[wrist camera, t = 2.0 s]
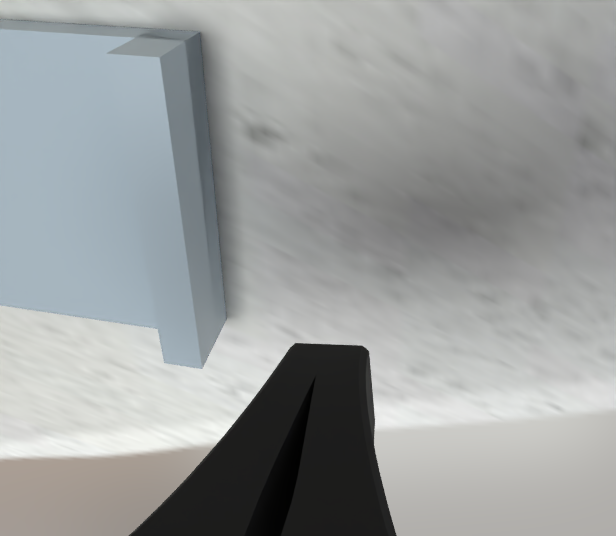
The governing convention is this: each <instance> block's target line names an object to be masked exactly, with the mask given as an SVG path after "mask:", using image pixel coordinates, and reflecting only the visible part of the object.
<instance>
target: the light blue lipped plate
mask: <svg viewBox="0 0 616 536" xmlns="http://www.w3.org/2000/svg"><path fill="white" fill-rule="evenodd" d="M0 305H2V306H8V307H15V308H22V309H29V310H35V311H42V312H49V313H55V314H62V315H69V316H75V317H82V318H89V319H95V320H102V321H109V322H115V323H122V324H129V325H135V326H142V327H149V328H155V329H158V332H159V338H160V343H161V348H162V353H163V359H164V363H168V364H174V365H180V366H187V367H193V368H199V369H202V368H203V366H204V364H205V362H206V360H207V358H208V356H209V354H210V352H211V350H212V348H213V346H214V344H215V342H216V340H217V338H218V335H219V333H220V331H221V329H222V327H223V325H224V323H225V321H226V319H227V318H226V307H225V296H224V285H223V275H222V264H221V253H220V242H219V232H218V221H217V210H216V199H215V189H214V178H213V167H212V156H211V146H210V135H209V124H208V113H207V103H206V92H205V81H204V70H203V60H202V49H201V38H200V32H198V31H182V30H166V29H150V28H134V27H118V26H102V25H86V24H70V23H54V22H38V21H22V20H6V19H0Z"/></svg>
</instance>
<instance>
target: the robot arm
mask: <svg viewBox="0 0 616 536" xmlns="http://www.w3.org/2000/svg"><path fill="white" fill-rule="evenodd" d="M374 428H375V417H374V405H373V393H372V381H371V370H370V358H369V351H368V350H367V349H366V348H364V347H363V346H356V345H330V344H303V343H295V344H294V345H293V346H292V347H291V348H290V349H289V350H288V352H287V353H286V355H285V356H284V358H283V359H282V360H281V362H280V363H279V365H278V366H277V368H276V369H275V370H274V372H273V373H272V375H271V376H270V377H269V379H268V380H267V381H266V383H265V384H264V385H263V387H262V388H261V390H260V391H259V392H258V394H257V395H256V396H255V398H254V399H253V400H252V401H251V403H250V404H249V405H248V407H247V408H246V409H245V410H244V412H243V413H242V414H241V415H240V417H239V418H238V419H237V420H236V422H235V423H234V424H233V425H232V427H231V428H230V429H229V430H228V432H227V433H226V434H225V435H224V436H223V438H222V439H221V440H220V441H219V442H218V443H217V445H216V446H215V447H214V448H213V449H212V450H211V451H210V453H209V454H208V455H207V456H206V457H205V458H204V459H203V461H202V462H201V463H200V464H199V465H198V466H197V467H196V468H195V470H194V471H193V472H192V473H191V474H190V475H189V476H188V477H187V479H186V480H185V481H184V482H183V483H182V484H181V485H180V486H179V487H178V488H177V489H176V490H175V491H174V492H173V493H172V494H171V495H170V497H168V498H167V499H166V500H165V501H164V502H163V503H162V505H161V506H160V507H158V509H157V510H155V511H154V512H153V513H152V514H151V515H150V516H149V517H148V518H147V519H146V520H145V521H144V522H143V523H142V524H141V525H140V526H139V527H138V528H137V529H136V530H135V531H134V532H132V533H131V534H130V535H129V536H396V533H395V529H394V526H393V522H392V519H391V515H390V511H389V508H388V504H387V500H386V496H385V493H384V488H383V484H382V480H381V477H380V472H379V468H378V463H377V459H376V454H375V448H374Z"/></svg>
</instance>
